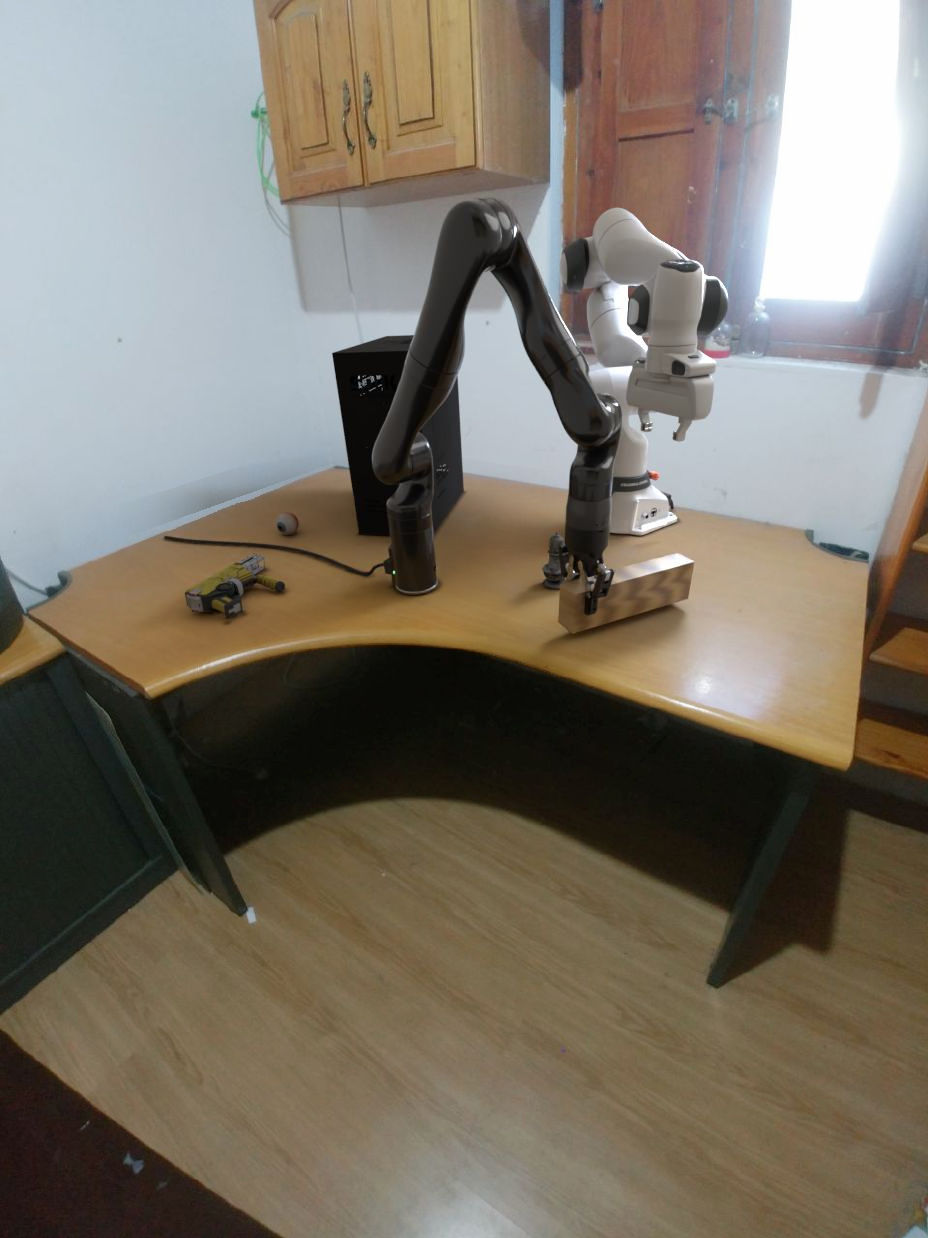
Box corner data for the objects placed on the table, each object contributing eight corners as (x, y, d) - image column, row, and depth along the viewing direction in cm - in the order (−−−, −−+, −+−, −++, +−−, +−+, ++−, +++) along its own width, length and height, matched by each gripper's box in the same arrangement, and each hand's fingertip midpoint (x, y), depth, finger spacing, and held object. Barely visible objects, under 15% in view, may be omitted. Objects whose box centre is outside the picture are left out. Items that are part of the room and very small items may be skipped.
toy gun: (306, 561, 141) (251, 550, 144) (240, 606, 120) (179, 591, 124) (307, 580, 143) (253, 568, 147) (243, 626, 123) (183, 611, 127)
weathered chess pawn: (568, 589, 128) (570, 537, 122) (540, 588, 130) (541, 536, 124) (569, 577, 133) (571, 526, 127) (542, 576, 134) (543, 525, 128)
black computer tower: (431, 537, 158) (415, 350, 135) (358, 534, 162) (332, 352, 140) (463, 491, 189) (455, 333, 167) (402, 489, 194) (386, 335, 171)
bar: (671, 589, 123) (677, 552, 119) (688, 598, 119) (694, 561, 115) (557, 622, 113) (559, 583, 109) (572, 633, 110) (574, 594, 105)
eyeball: (273, 537, 164) (268, 516, 161) (287, 528, 169) (282, 508, 166) (291, 539, 161) (286, 518, 158) (305, 530, 166) (301, 510, 163)
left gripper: (546, 511, 106) (543, 595, 115) (594, 539, 95) (587, 630, 104) (582, 503, 109) (576, 587, 118) (632, 529, 98) (622, 620, 106)
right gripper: (621, 357, 120) (616, 428, 127) (696, 368, 103) (685, 448, 110) (646, 354, 122) (640, 424, 129) (724, 364, 106) (711, 443, 113)
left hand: (581, 607), depth 111 cm, fingers closed on bar, 4 cm apart
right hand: (661, 435), depth 119 cm, fingers open, 8 cm apart
